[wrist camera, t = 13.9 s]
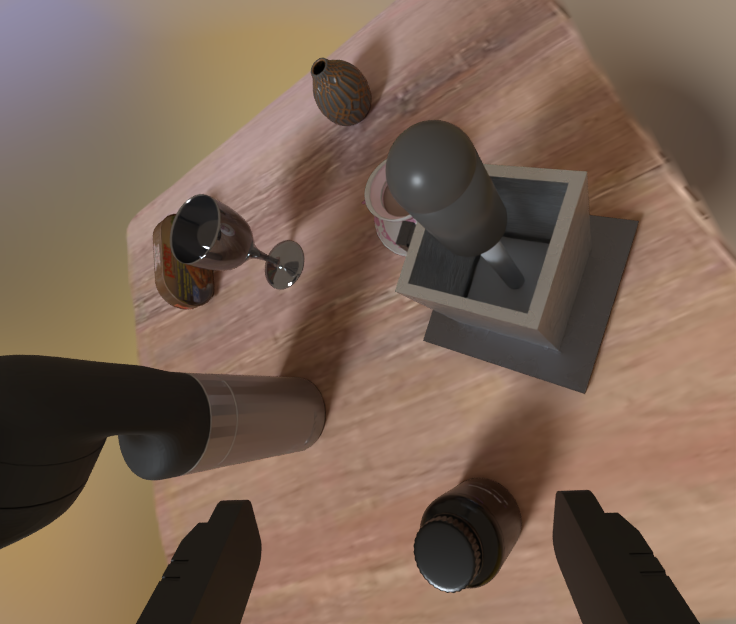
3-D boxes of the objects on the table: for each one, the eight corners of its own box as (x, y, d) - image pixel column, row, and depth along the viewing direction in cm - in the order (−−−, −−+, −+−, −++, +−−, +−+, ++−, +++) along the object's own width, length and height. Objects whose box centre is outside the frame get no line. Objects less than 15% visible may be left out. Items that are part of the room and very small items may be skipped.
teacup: (463, 147, 47) (446, 116, 42) (477, 244, 44) (460, 224, 39) (372, 180, 53) (347, 156, 47) (379, 268, 50) (353, 253, 45)
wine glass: (306, 287, 55) (217, 255, 42) (262, 296, 59) (167, 270, 46) (306, 231, 57) (219, 185, 44) (262, 244, 60) (171, 204, 47)
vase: (333, 100, 58) (294, 56, 51) (376, 78, 55) (340, 28, 47) (337, 142, 56) (297, 104, 49) (381, 121, 53) (345, 77, 46)
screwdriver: (465, 311, 40) (314, 222, 19) (488, 236, 40) (365, 63, 19) (547, 333, 36) (473, 252, 15) (573, 250, 36) (537, 51, 15)
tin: (216, 309, 63) (166, 299, 56) (202, 315, 64) (152, 306, 57) (209, 224, 67) (162, 204, 60) (196, 231, 69) (149, 212, 61)
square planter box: (427, 341, 45) (349, 319, 31) (470, 204, 45) (413, 120, 31) (585, 393, 37) (576, 395, 23) (637, 225, 37) (661, 125, 23)
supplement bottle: (509, 470, 39) (477, 499, 29) (532, 549, 37) (507, 611, 27) (443, 481, 42) (392, 510, 32) (461, 554, 40) (413, 612, 30)
